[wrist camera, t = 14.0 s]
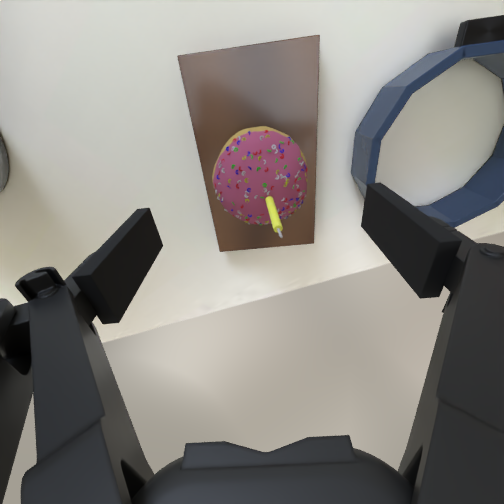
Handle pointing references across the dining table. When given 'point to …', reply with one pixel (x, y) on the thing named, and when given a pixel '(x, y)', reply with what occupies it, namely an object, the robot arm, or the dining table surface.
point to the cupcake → (261, 176)
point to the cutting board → (255, 122)
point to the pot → (397, 94)
